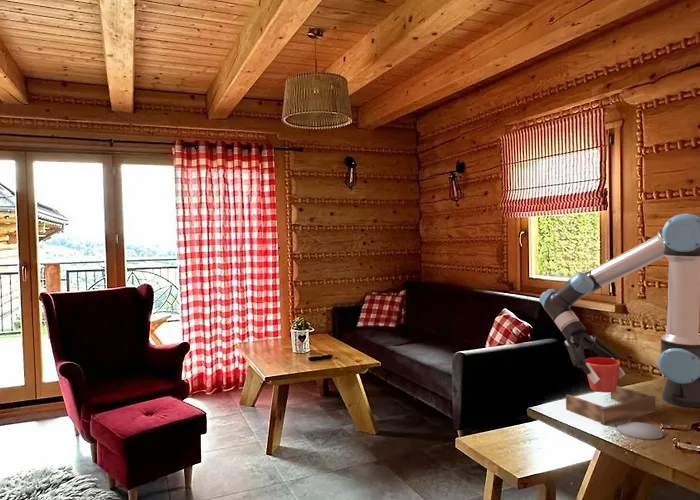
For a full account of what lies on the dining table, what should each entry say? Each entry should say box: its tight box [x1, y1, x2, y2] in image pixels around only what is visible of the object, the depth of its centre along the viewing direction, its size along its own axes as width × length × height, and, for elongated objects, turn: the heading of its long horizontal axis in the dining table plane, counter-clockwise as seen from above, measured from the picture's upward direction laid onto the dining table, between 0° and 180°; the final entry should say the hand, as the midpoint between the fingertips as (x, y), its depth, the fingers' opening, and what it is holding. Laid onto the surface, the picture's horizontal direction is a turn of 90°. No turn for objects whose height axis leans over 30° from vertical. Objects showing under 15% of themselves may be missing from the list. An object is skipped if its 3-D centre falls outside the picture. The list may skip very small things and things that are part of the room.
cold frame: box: [565, 385, 657, 426], centre depth 169 cm, size 16×24×5 cm, turn 113°
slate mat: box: [616, 421, 664, 441], centre depth 151 cm, size 12×12×1 cm
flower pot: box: [585, 356, 621, 393], centre depth 170 cm, size 11×11×10 cm
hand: (609, 378), depth 168 cm, fingers closed on flower pot, 11 cm apart
